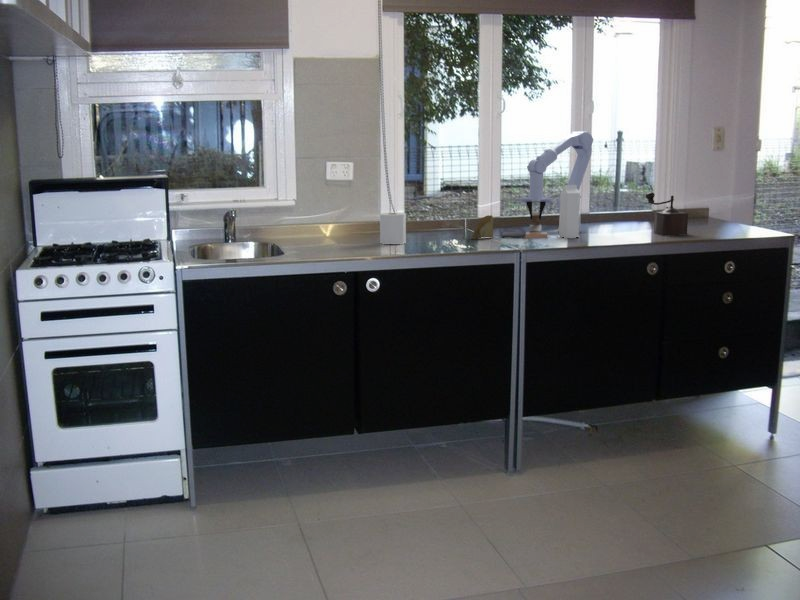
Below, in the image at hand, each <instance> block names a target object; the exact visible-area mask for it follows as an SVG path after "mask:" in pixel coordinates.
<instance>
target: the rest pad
mask: <svg viewBox="0 0 800 600" xmlns="http://www.w3.org/2000/svg"><path fill="white" fill-rule="evenodd" d="M524 235H525V232H524V231H503V232H502V234H501V238H502V237H513V238H512V239H524ZM521 237H522V238H521Z"/></svg>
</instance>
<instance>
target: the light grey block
mask: <svg viewBox="0 0 800 600" xmlns="http://www.w3.org/2000/svg"><path fill="white" fill-rule="evenodd" d="M406 215H407V214H406V213H404V212H383V213H380V214H379V240H380V241H379V244H381V243H382V244H381V245H384V244H400V245H405V244H406V243H407V223H406V222H407V219H406V218H407V217H406ZM404 243H405V244H404Z"/></svg>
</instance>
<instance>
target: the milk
mask: <svg viewBox="0 0 800 600" xmlns="http://www.w3.org/2000/svg"><path fill="white" fill-rule="evenodd" d="M559 196H560V211H559V216H560V227H559V226H558V229H559V232H558V236H560V237H559V238H562V237H564V238H563V239H566V238H569V239H577V238H576V237H580V232H579V214H580V212H581V210H580V209H581V207H580V205H581V198H580V196H581V192H580V190H579V191H578V189H577V185H568V184H565V185H564V186H563V189H562V190H561V191H560V195H559Z"/></svg>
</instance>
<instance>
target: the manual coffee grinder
mask: <svg viewBox="0 0 800 600" xmlns="http://www.w3.org/2000/svg"><path fill="white" fill-rule="evenodd" d="M644 195H645V199H647V204H651V205H655V206H657V205H658V206H659V205H663V204H667V203H670V206H669V207H668V206H666V208H665V209H663V210H660V211H654V218H653V219H654V223H653V234H656V235H660V234H661V235H660V236H665V235H675V236H680V235H679V234H687V235H688V221H689V220H688V219H689V214H688V212H682V211H680V210H679V209H677V208H674V206H673V205H674V201H675V199H674V197H675V196H674V195H671V196H670V198H669V199H668V200H666V201H660V202H655V199H654V198H655V192H652V191H649V192H647V193H645V194H644Z"/></svg>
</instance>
